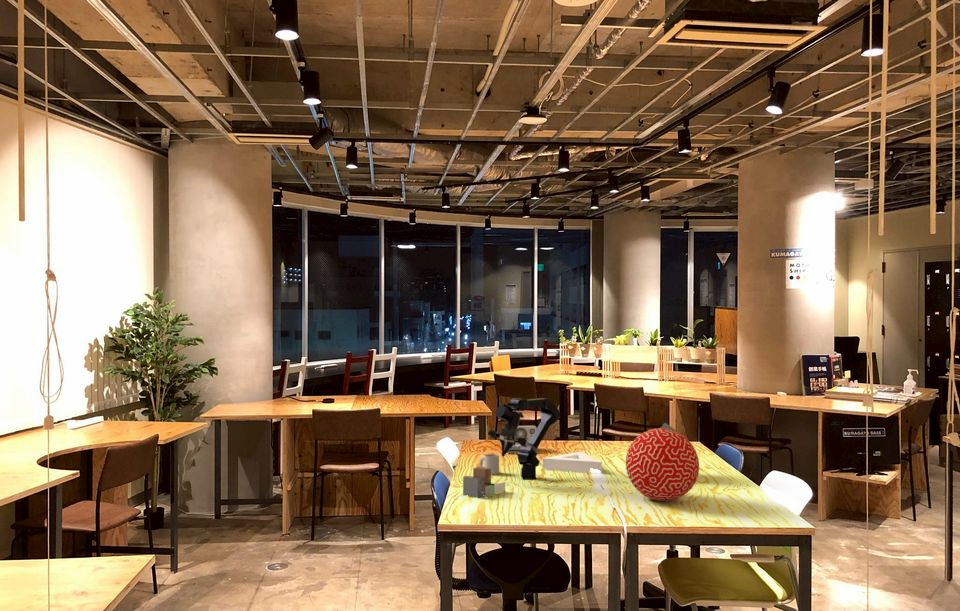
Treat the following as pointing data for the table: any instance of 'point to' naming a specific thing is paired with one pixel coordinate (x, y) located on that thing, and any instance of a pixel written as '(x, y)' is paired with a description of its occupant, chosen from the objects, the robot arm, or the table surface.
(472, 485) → the grey square slab
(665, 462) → the ball
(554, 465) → the triangular ruler
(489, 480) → the gauge carriage
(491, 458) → the cup
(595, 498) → the table surface
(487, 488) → the gauge base
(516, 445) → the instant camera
